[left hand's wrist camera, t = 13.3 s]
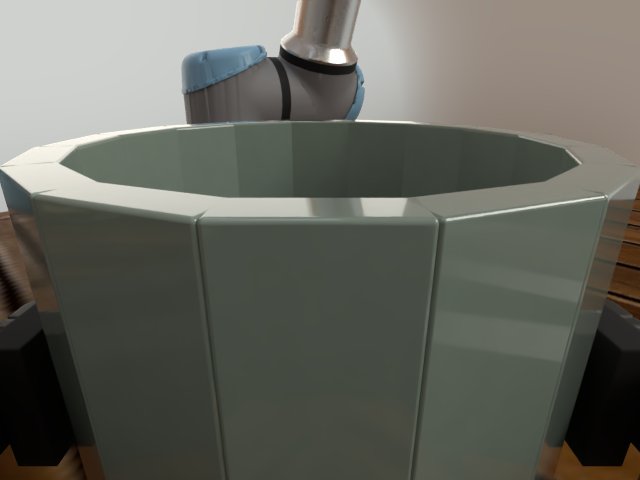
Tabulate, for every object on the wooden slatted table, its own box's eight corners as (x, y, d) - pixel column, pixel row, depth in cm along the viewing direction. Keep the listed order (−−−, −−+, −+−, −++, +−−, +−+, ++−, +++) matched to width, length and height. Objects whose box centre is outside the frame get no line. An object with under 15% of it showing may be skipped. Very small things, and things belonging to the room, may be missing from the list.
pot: (80, 514, 12) (-39, 139, 8) (320, 361, 19) (320, 115, 15) (318, 1066, 5) (313, 425, 1) (560, 516, 12) (680, 139, 8)
